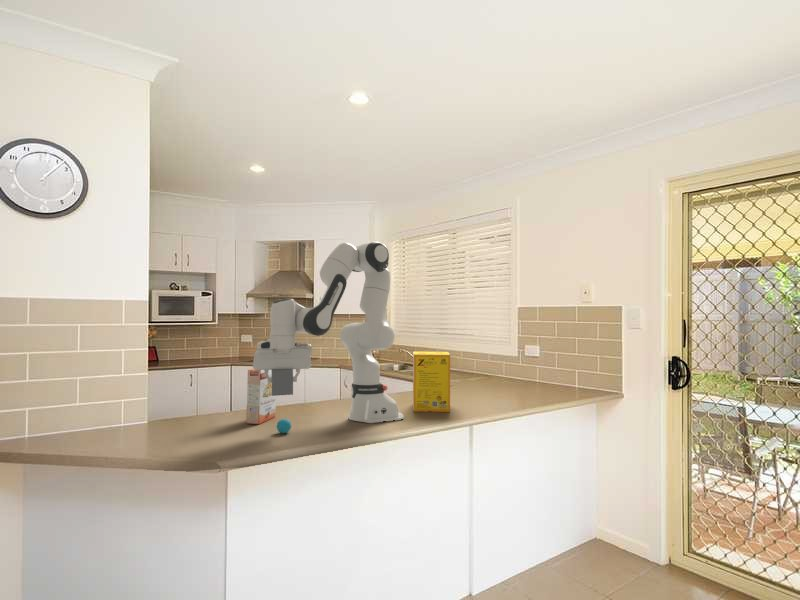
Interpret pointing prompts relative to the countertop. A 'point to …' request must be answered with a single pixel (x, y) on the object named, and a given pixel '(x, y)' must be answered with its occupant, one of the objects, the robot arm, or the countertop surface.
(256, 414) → the cracker box
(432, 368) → the packaging box
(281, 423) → the ball
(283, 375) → the gray faceted wedge
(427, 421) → the countertop surface
